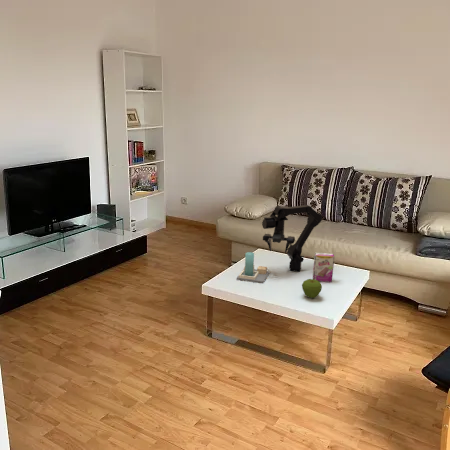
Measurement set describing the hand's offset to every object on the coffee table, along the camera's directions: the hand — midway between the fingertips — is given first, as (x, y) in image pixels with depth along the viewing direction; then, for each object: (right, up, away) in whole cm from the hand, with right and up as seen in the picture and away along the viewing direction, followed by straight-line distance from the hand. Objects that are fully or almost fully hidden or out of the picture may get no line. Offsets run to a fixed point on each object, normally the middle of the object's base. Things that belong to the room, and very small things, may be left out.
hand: (278, 252), depth 294 cm
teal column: (-18, -14, -6) cm, 24 cm away
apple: (+15, -23, -31) cm, 41 cm away
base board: (-15, -14, -4) cm, 21 cm away
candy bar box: (+25, -16, -8) cm, 31 cm away
